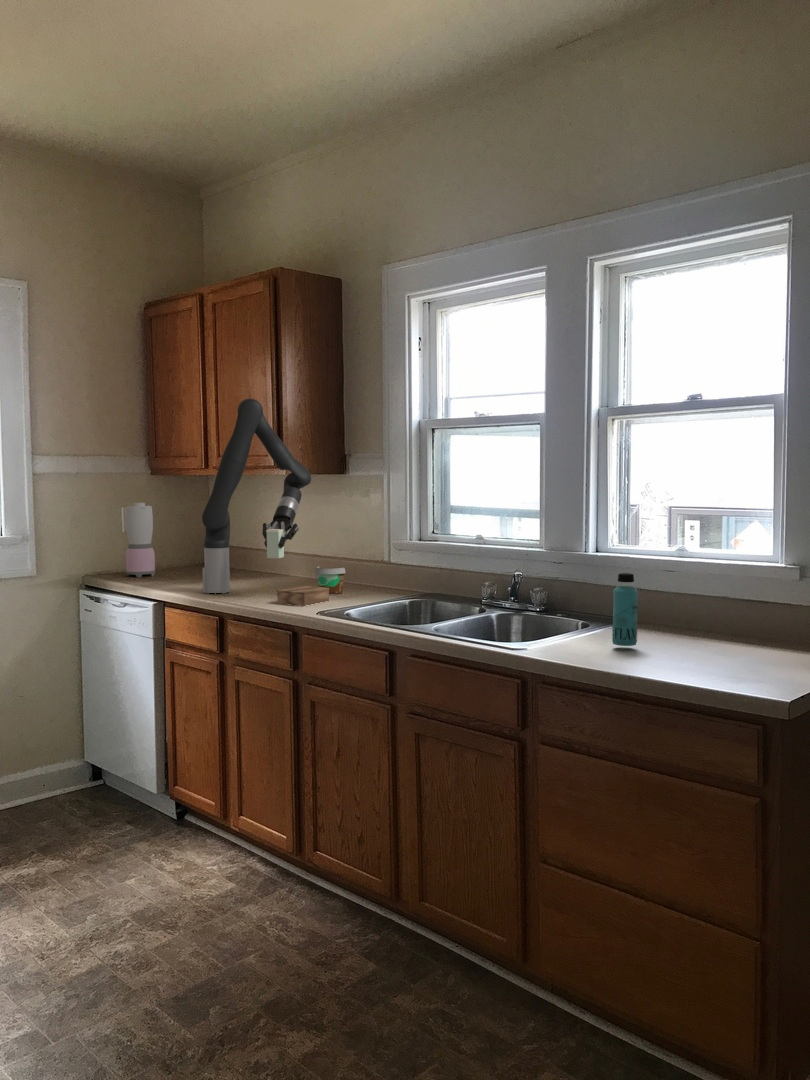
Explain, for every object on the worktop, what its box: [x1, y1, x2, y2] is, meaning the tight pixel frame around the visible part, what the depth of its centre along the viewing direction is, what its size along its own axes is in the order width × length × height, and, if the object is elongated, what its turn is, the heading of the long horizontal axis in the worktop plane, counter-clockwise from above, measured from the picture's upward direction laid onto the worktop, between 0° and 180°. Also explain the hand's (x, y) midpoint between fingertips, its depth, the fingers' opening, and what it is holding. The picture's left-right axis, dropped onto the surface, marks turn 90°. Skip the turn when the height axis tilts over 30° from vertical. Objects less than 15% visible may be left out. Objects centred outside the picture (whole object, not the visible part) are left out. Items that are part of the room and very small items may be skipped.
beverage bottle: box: [611, 572, 639, 647], centre depth 231 cm, size 6×7×20 cm
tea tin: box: [266, 528, 285, 559], centre depth 321 cm, size 5×5×10 cm
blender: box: [125, 502, 156, 578], centre depth 389 cm, size 16×12×32 cm
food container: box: [315, 566, 347, 595], centre depth 331 cm, size 12×6×10 cm, turn 62°
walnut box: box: [276, 584, 330, 607], centre depth 312 cm, size 12×14×5 cm
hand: (273, 546), depth 319 cm, fingers closed on tea tin, 4 cm apart
